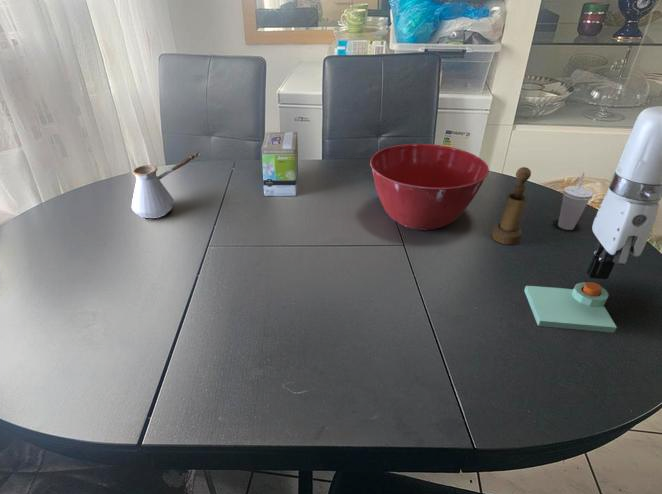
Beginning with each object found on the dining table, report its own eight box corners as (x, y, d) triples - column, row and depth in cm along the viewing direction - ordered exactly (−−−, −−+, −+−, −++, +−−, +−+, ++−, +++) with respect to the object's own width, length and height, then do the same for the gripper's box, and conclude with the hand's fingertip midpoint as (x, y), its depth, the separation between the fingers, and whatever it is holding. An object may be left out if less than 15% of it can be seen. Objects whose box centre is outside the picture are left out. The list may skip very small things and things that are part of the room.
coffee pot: (136, 226, 119) (122, 173, 111) (131, 208, 128) (117, 158, 119) (214, 209, 126) (206, 158, 118) (204, 194, 135) (196, 145, 126)
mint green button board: (596, 295, 90) (601, 283, 88) (619, 333, 81) (625, 321, 79) (523, 289, 92) (527, 278, 91) (537, 326, 83) (542, 314, 81)
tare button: (595, 288, 88) (598, 282, 87) (601, 297, 85) (604, 291, 84) (580, 287, 88) (583, 281, 87) (585, 296, 86) (588, 289, 85)
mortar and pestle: (524, 244, 106) (546, 173, 96) (497, 245, 106) (516, 174, 96) (513, 231, 112) (533, 162, 102) (487, 231, 112) (504, 163, 102)
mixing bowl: (491, 211, 121) (504, 155, 112) (451, 258, 102) (464, 197, 94) (396, 187, 135) (401, 136, 126) (346, 225, 117) (348, 169, 108)
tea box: (297, 196, 132) (295, 147, 123) (263, 197, 132) (259, 148, 124) (298, 176, 144) (297, 130, 136) (267, 176, 144) (264, 131, 136)
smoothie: (569, 219, 116) (588, 167, 108) (586, 231, 111) (606, 178, 103) (546, 221, 115) (563, 170, 107) (562, 233, 110) (581, 180, 102)
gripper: (685, 208, 67) (635, 302, 78) (641, 170, 79) (603, 256, 90) (631, 205, 69) (589, 298, 79) (596, 168, 81) (563, 253, 91)
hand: (596, 276), depth 84 cm, fingers closed
